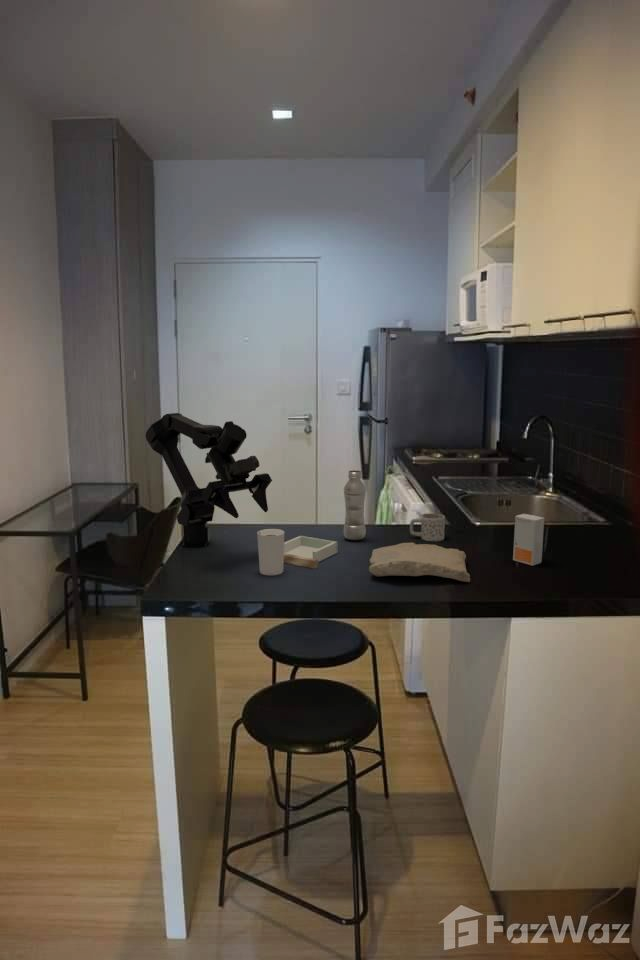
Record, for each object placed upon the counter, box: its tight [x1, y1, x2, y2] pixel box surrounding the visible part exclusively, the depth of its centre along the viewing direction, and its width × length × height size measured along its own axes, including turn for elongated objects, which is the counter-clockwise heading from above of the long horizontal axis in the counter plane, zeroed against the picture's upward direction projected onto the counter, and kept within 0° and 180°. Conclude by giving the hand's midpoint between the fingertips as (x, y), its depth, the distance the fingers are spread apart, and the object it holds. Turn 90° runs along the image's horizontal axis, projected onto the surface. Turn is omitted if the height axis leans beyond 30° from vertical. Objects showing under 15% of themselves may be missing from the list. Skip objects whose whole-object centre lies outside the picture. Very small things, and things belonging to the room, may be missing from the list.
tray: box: [284, 535, 339, 563], centre depth 178 cm, size 12×12×3 cm
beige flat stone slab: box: [368, 542, 471, 583], centre depth 163 cm, size 24×8×20 cm
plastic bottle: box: [343, 469, 367, 541], centre depth 191 cm, size 6×7×20 cm
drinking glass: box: [256, 528, 285, 576], centre depth 164 cm, size 7×7×10 cm
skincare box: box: [512, 513, 545, 567], centre depth 170 cm, size 6×4×12 cm
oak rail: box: [283, 553, 319, 569], centre depth 171 cm, size 16×2×2 cm, turn 58°
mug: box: [409, 512, 446, 542], centre depth 193 cm, size 10×7×7 cm, turn 89°
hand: (252, 514), depth 168 cm, fingers open, 9 cm apart
